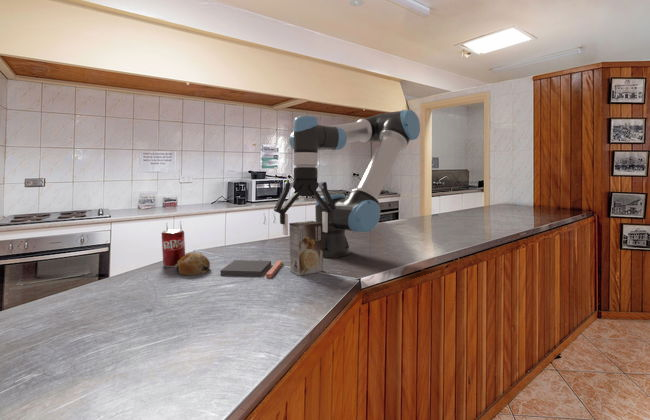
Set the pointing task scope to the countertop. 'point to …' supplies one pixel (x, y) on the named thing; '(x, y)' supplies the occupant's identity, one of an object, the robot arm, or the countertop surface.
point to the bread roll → (192, 264)
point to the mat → (246, 268)
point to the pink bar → (273, 269)
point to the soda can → (172, 247)
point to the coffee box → (306, 247)
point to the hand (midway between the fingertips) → (305, 233)
